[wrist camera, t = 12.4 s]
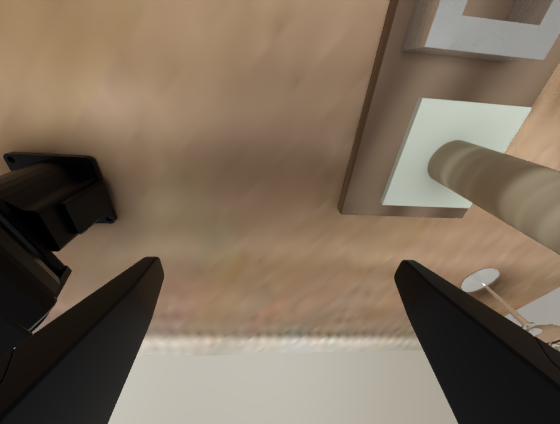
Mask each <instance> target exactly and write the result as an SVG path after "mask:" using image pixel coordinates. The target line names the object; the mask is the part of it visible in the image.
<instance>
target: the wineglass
mask: <svg viewBox="0 0 560 424" xmlns="http://www.w3.org/2000/svg"><path fill="white" fill-rule="evenodd" d="M498 277H499V271H498V270H496V269H493V268H487V269H482V270H479V271H477V272H475V273H473V274H471V275H470V276H468V277H467V278H466V279H465V280H464V281H463V283H462V286H461V288H462V290H463V291H465V292H477V291H481V290H483V289H487V290H488V291H489V292H490V293H491V294H492V295H493V296H494V298H495V299H496V300H497V301H498V302H499V303H500V304H501V305H502V306H503V307H504V308H505V309H506V310H507V311H508V312H509V313H510V314H511V315H512V316H513V317H514V318H515V319H516V320H517V321H518V322H519V323H520V324H521V325H522V326H521V328H523V329H524V330H526V331H528V332H529V333H531V334H532V335H533V336H536V337H537V338H539V339H540V340H542V341H544V342H545V343H547V344H548V345H550V346H552V347H553V348H555V349H556V350H558V351H560V326H558V325H553V324H551V325H537V324H536V323H533V322H528V321H527V320H526V319H524V318H523V317H522V316H521V315H520V314H519V313H518V312H517V311H515V310H514V309H513V308H512V307H511V306H510V305H509V304H507V303H506V302H505V301H504V300H503V299H502V298H501V297H499V296H498V295H497V294H496V293H495V292H494V291H493V290H492V289H490V288H489V286H491V285H492V284H493V283H494V282H495V281H496V280H497V279H498Z"/></svg>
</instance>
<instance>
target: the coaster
mask: <svg viewBox="0 0 560 424" xmlns="http://www.w3.org/2000/svg"><path fill="white" fill-rule="evenodd" d="M531 109H532V107H522V106H511V105H500V104H488V103H477V102H466V101H454V100H443V99H432V98H421V97H419V98H418V100H417V103H416V106H415V108H414V111H413V114H412V117H411V119H410V122H409V125H408V127H407V130H406V133H405V136H404V138H403V141H402V144H401V146H400V149H399V152H398V155H397V157H396V160H395V163H394V165H393V168H392V171H391V174H390V176H389V179H388V182H387V185H386V187H385V190H384V193H383V195H382V198H381V201H380V203H381V204H382V205H395V206H422V207H449V208H470V206H471V205H472V202H470V201H469V200H467V199H465V198H463V197H462V196H460V195H458V194H457V193H455V192H453V191H452V190H450V189H448V188H447V187H445V186H443V185H442V184H440V183H438V182H437V181H435V180H433V179H432V178H431V177H430V176H429V174H428V164H429V161H430V159H431V157H432V156H433V154H434V153H435V152H436V151H437V150H438V149H439V148H440V147H441V146H443V145H444V144H446V143H448V142H451V141H454V140H462V141H466V142H469V143H472V144H475V145H478V146H482V147H485V148H488V149H491V150H494V151H497V152H500V153H504V152H505V150H506V149H507V147H508V146H509V144H510V142H511V141H512V139H513V138H514V136H515V134H516V133H517V131H518V130H519V128H520V126H521V125H522V123H523V122H524V120H525V119H526V117H527V115H528V114H529V112H530V111H531Z"/></svg>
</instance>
